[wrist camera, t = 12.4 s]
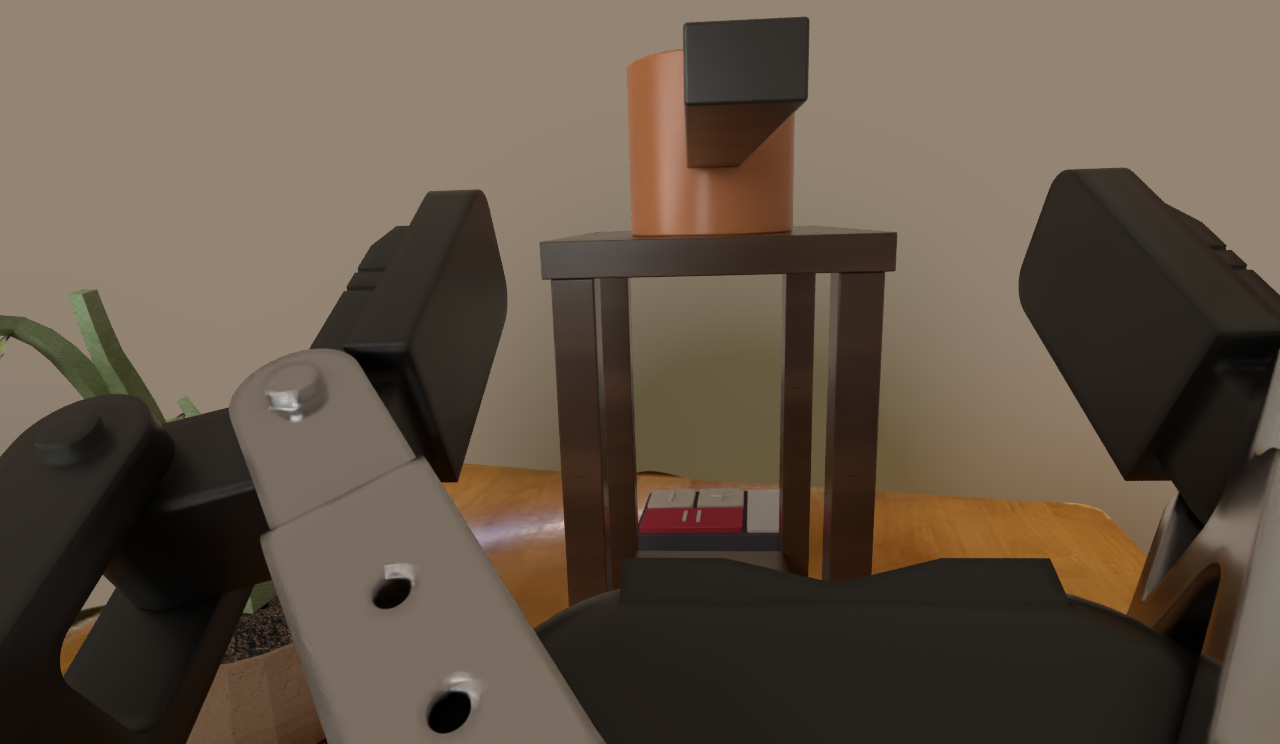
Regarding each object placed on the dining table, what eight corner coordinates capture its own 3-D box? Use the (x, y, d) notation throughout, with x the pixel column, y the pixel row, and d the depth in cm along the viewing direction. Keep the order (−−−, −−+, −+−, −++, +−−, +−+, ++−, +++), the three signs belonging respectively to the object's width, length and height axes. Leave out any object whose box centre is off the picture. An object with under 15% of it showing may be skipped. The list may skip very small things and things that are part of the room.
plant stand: (865, 907, 34) (897, 232, 27) (577, 895, 35) (539, 242, 28) (805, 671, 52) (815, 225, 45) (614, 668, 53) (596, 232, 46)
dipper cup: (954, 256, 13) (985, -221, 11) (545, 266, 13) (518, -187, 12) (781, 229, 37) (783, 76, 35) (637, 233, 38) (633, 83, 36)
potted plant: (236, 625, 60) (175, 269, 53) (433, 643, 56) (393, 265, 50) (-71, 859, 38) (-236, 308, 32) (218, 912, 35) (99, 306, 28)
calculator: (649, 485, 78) (787, 483, 76) (652, 521, 79) (788, 520, 77) (632, 528, 68) (792, 527, 65) (636, 569, 69) (793, 569, 66)
